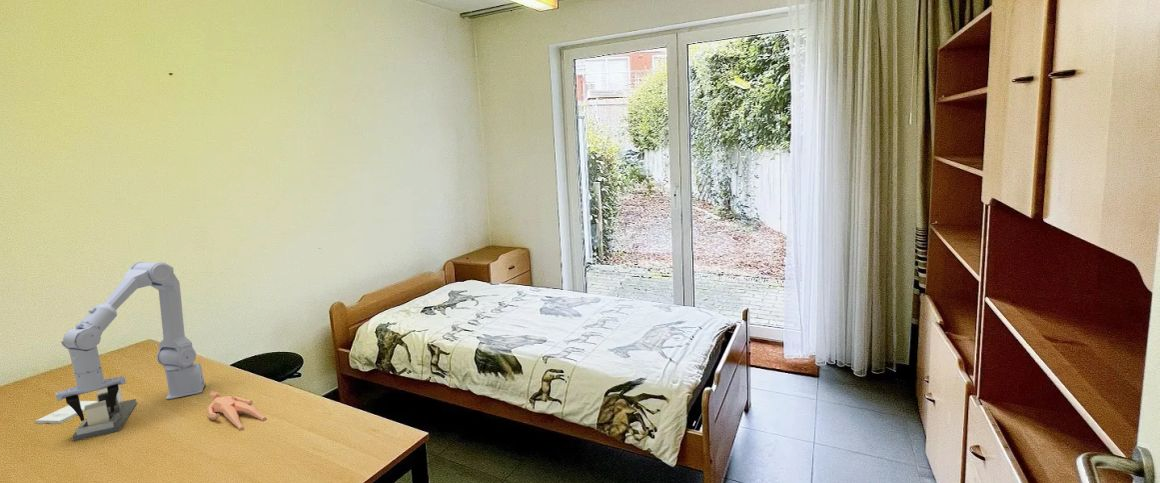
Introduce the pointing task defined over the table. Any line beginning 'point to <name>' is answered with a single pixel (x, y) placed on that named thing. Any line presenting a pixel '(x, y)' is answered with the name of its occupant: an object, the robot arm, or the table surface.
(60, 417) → the external hard drive
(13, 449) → the table surface
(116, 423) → the grey metal base
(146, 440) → the table surface
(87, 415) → the white cube grey lid
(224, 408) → the male figurine
